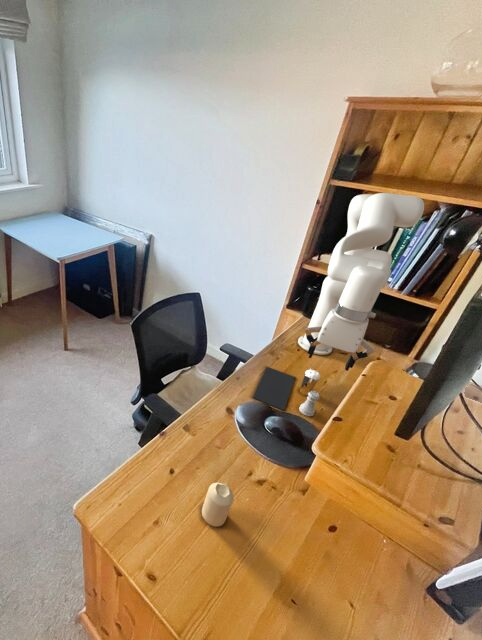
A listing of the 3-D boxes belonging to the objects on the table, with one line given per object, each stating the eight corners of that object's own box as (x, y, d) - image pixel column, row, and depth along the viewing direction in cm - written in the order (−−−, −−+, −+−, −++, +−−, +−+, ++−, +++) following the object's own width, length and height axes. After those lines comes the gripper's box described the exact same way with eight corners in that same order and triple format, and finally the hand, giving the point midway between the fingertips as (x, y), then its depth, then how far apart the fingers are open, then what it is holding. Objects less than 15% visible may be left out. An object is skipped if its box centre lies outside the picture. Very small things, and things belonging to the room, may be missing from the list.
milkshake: (307, 387, 121) (318, 364, 116) (314, 397, 117) (324, 375, 112) (294, 385, 122) (304, 363, 116) (300, 396, 117) (310, 373, 112)
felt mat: (266, 367, 130) (266, 366, 130) (294, 378, 125) (295, 377, 125) (252, 397, 116) (252, 397, 116) (283, 411, 111) (284, 410, 111)
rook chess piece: (296, 411, 111) (304, 393, 107) (301, 404, 114) (309, 386, 110) (311, 419, 109) (320, 400, 104) (315, 411, 111) (324, 393, 107)
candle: (212, 531, 78) (221, 506, 73) (196, 509, 82) (204, 484, 77) (230, 520, 81) (240, 495, 75) (214, 499, 85) (222, 474, 79)
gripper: (389, 316, 92) (362, 366, 101) (318, 297, 100) (298, 345, 109) (390, 327, 87) (361, 380, 95) (314, 307, 95) (294, 357, 103)
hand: (328, 362), depth 102 cm, fingers open, 9 cm apart
